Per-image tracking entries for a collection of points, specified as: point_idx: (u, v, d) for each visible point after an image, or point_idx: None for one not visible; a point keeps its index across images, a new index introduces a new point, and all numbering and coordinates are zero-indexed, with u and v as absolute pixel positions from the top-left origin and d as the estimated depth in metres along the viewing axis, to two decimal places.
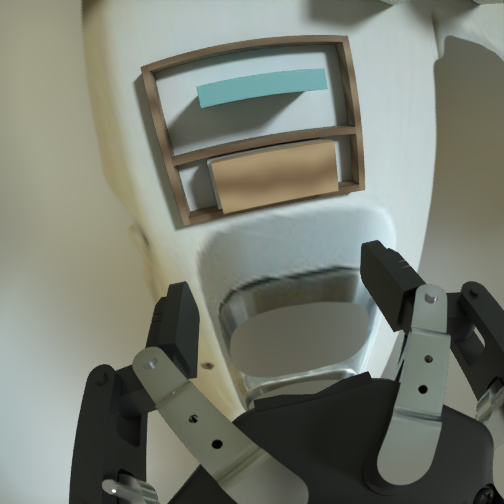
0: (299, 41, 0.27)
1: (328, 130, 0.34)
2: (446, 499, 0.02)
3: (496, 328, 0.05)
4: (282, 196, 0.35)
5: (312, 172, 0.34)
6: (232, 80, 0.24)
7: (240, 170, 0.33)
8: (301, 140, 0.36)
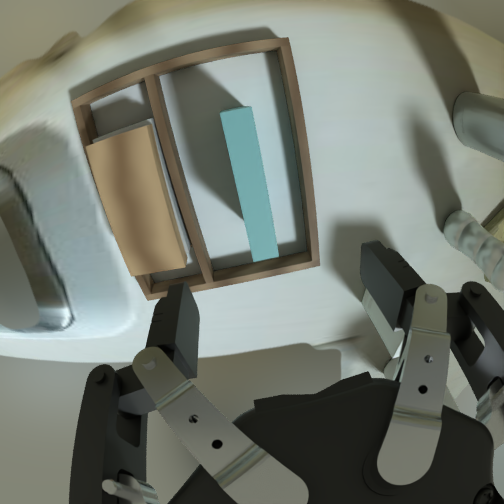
0: (308, 217, 0.32)
1: (202, 254, 0.33)
2: (446, 499, 0.02)
3: (496, 328, 0.05)
4: (112, 215, 0.26)
5: (145, 246, 0.28)
6: (258, 152, 0.21)
7: (138, 162, 0.24)
8: None
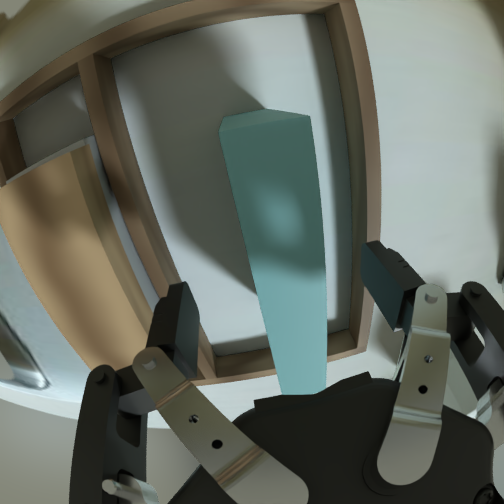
0: (364, 298, 0.19)
1: (199, 351, 0.20)
2: (446, 499, 0.02)
3: (496, 328, 0.05)
4: (49, 304, 0.14)
5: (107, 349, 0.16)
6: (318, 238, 0.09)
7: (65, 224, 0.11)
8: None
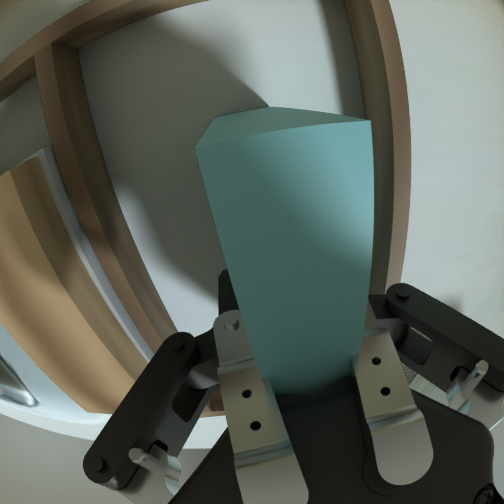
0: None
1: None
2: (446, 499, 0.02)
3: (440, 323, 0.06)
4: (22, 342, 0.10)
5: (91, 388, 0.13)
6: (357, 315, 0.05)
7: (18, 257, 0.08)
8: None
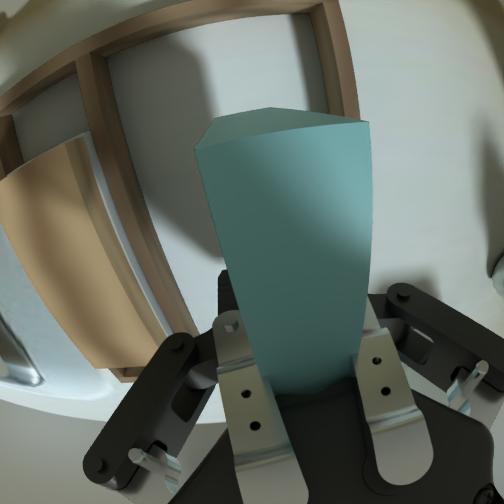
0: None
1: None
2: (446, 499, 0.02)
3: (441, 323, 0.06)
4: (46, 295, 0.14)
5: (104, 338, 0.16)
6: (356, 315, 0.05)
7: (60, 213, 0.11)
8: None
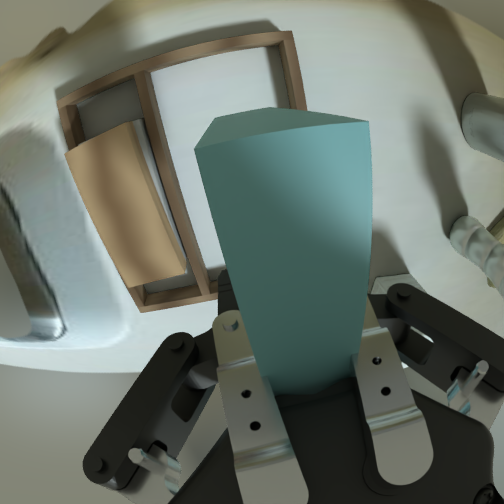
0: None
1: (198, 266, 0.30)
2: (446, 499, 0.02)
3: (441, 323, 0.06)
4: (100, 224, 0.24)
5: (139, 254, 0.26)
6: (356, 315, 0.05)
7: (120, 163, 0.21)
8: None
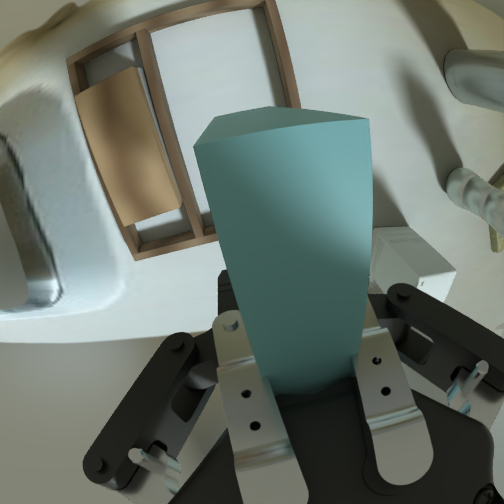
0: None
1: (191, 204, 0.30)
2: (446, 499, 0.02)
3: (441, 323, 0.06)
4: (101, 160, 0.24)
5: (136, 189, 0.26)
6: (357, 314, 0.05)
7: (125, 101, 0.21)
8: None
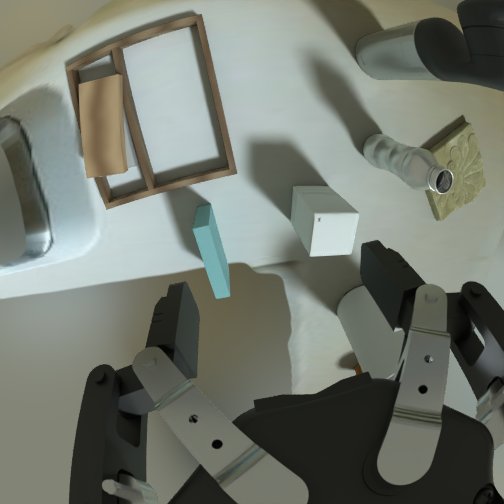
0: (222, 132, 0.39)
1: (145, 165, 0.40)
2: (446, 499, 0.02)
3: (496, 328, 0.05)
4: (84, 130, 0.33)
5: (100, 154, 0.36)
6: (213, 247, 0.42)
7: (108, 96, 0.31)
8: None
